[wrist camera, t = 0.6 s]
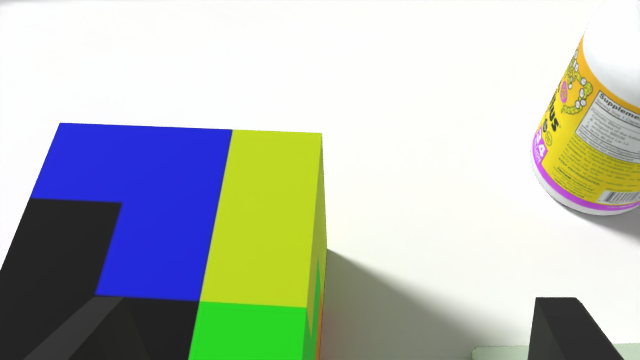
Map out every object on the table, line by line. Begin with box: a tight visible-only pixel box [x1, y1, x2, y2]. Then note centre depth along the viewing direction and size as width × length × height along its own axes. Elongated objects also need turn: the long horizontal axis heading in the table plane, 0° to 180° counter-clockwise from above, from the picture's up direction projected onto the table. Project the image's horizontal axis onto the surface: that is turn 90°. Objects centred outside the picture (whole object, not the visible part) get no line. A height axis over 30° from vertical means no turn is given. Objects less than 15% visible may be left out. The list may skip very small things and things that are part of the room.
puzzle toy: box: [0, 123, 327, 360], centre depth 23 cm, size 10×10×10 cm
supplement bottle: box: [530, 0, 640, 215], centre depth 26 cm, size 7×7×13 cm
